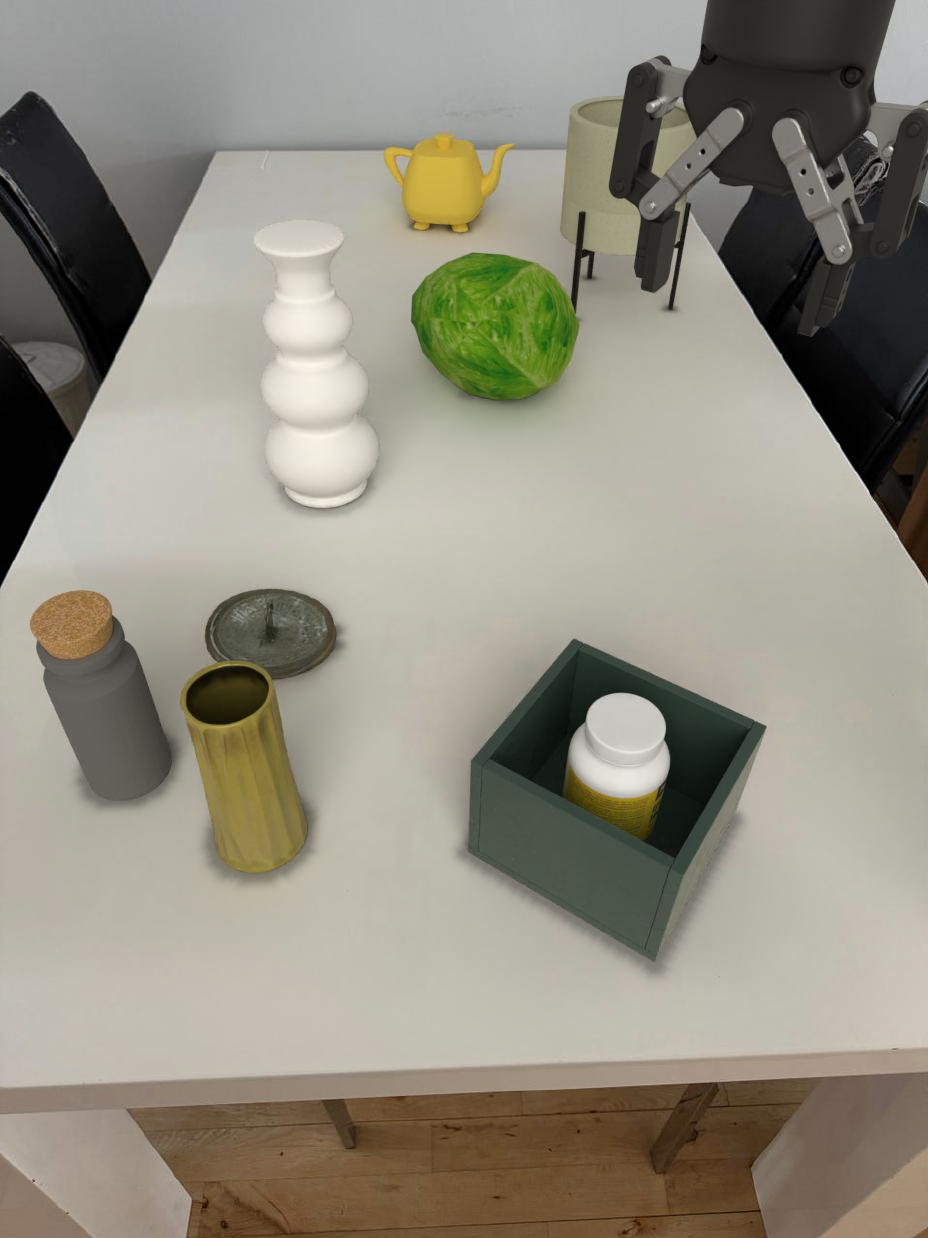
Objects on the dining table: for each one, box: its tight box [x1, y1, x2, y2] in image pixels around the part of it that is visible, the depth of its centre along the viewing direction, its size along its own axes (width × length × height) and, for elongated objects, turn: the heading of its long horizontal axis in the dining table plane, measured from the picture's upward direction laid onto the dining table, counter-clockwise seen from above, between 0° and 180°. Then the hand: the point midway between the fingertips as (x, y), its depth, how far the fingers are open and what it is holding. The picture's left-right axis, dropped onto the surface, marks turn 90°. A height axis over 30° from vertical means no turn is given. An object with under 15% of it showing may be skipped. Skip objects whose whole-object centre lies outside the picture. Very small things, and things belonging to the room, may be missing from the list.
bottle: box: [29, 589, 172, 801], centre depth 60 cm, size 6×6×15 cm
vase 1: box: [179, 661, 308, 874], centre depth 56 cm, size 6×6×14 cm
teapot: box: [383, 132, 516, 233], centre depth 139 cm, size 13×20×12 cm
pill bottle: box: [562, 693, 670, 844], centre depth 57 cm, size 6×6×11 cm
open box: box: [467, 638, 768, 963], centre depth 58 cm, size 14×13×10 cm
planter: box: [559, 95, 697, 315], centre depth 115 cm, size 15×16×23 cm
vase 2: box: [252, 219, 380, 509], centre depth 82 cm, size 11×11×25 cm
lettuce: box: [410, 251, 581, 401], centre depth 101 cm, size 17×20×17 cm
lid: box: [204, 588, 338, 681], centre depth 73 cm, size 11×10×5 cm
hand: (729, 307), depth 47 cm, fingers open, 8 cm apart
